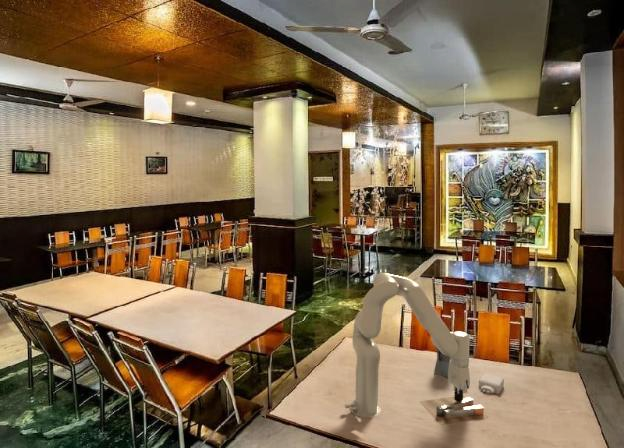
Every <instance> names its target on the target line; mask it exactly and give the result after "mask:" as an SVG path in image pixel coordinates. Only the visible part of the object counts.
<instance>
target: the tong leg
mask: <svg viewBox="0 0 624 448" xmlns="http://www.w3.org/2000/svg"><path fill="white" fill-rule="evenodd" d="M473 404H474V399H473V397H470V396H467V397H465V398H464V399H462V401H458V402H455V403H451V404H448V405H445V406H441V407H440V406H438V407H437V410H436V415H437V416H439V417H443V415H444V412H445V410H449V409H456V408H463V407H470V406H473Z"/></svg>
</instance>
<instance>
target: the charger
mask: <svg viewBox="0 0 624 448" xmlns="http://www.w3.org/2000/svg"><path fill="white" fill-rule="evenodd" d="M504 384H505V380H504V377H501V376H499V375H494V374H492V373H486V372H485V373H483V375H482V376H481V377H480V379H479V381H478V387H479V388H480V391H482V392H483V393H486V394H496V395H498V394H500V392H501V391H502V390H503V388H504Z"/></svg>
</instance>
